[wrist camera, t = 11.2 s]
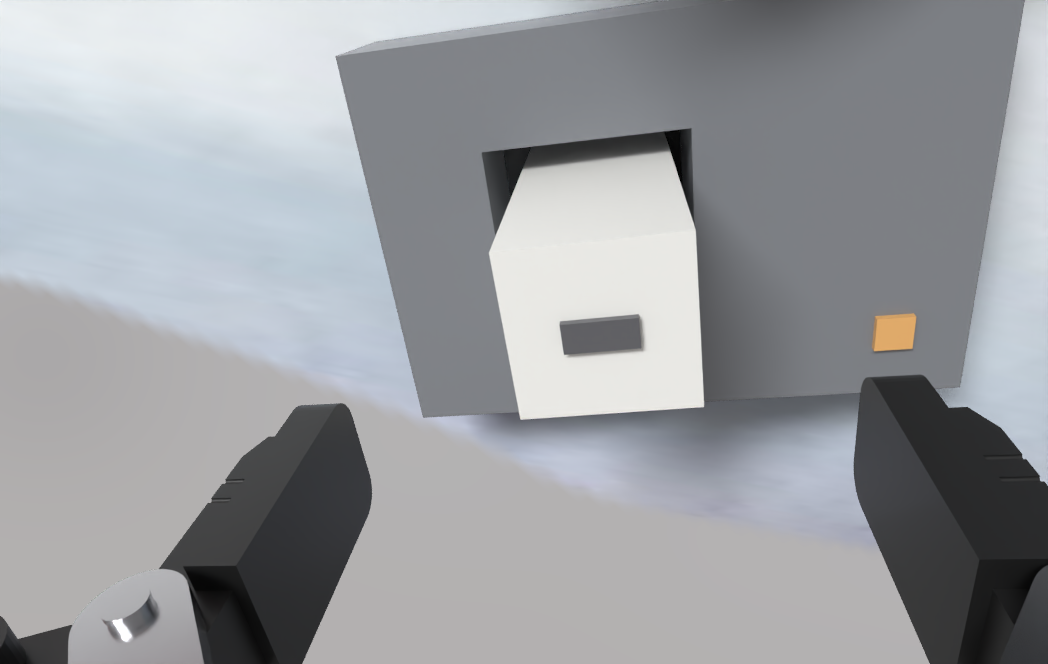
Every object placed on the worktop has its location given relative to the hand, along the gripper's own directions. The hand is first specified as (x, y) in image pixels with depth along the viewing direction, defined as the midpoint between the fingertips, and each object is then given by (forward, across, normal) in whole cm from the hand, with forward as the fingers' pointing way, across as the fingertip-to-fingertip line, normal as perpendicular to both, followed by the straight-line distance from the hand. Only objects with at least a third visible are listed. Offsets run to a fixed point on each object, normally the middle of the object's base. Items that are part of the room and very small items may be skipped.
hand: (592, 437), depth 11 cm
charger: (+13, 0, 0) cm, 13 cm away
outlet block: (+13, -2, 0) cm, 13 cm away
